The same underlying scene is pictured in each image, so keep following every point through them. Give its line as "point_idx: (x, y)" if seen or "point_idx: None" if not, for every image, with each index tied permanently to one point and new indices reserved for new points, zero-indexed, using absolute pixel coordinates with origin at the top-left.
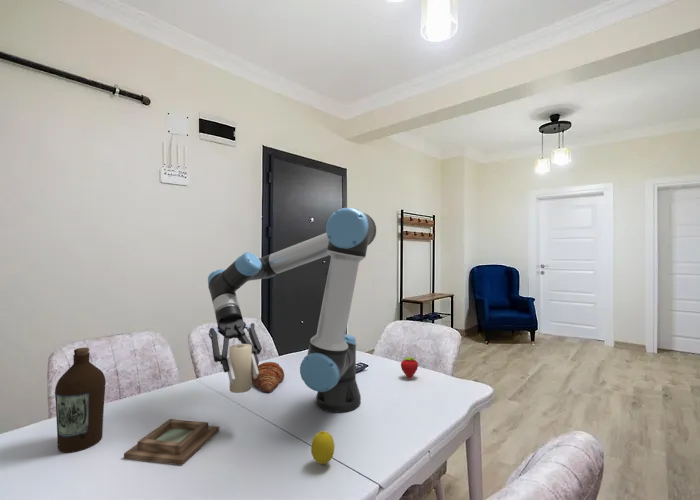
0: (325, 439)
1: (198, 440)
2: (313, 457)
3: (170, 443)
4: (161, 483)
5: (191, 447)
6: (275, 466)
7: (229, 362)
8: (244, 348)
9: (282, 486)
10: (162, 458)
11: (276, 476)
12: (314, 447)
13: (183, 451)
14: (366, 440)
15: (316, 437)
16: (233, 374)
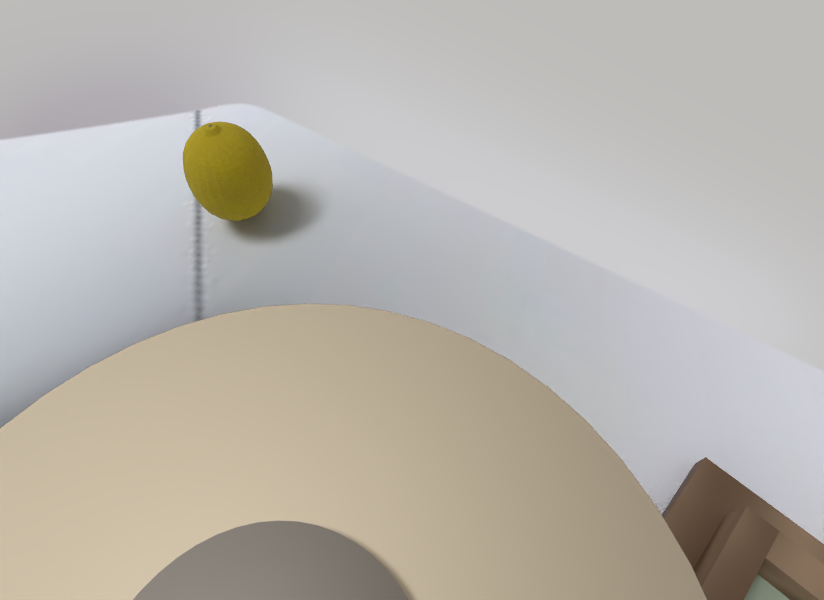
0: (226, 122)
1: None
2: (271, 190)
3: (814, 574)
4: (754, 387)
5: None
6: (371, 275)
7: None
8: (279, 332)
9: (394, 196)
10: (808, 534)
11: (390, 235)
12: (264, 155)
13: (715, 533)
14: (33, 241)
15: (242, 139)
16: None
